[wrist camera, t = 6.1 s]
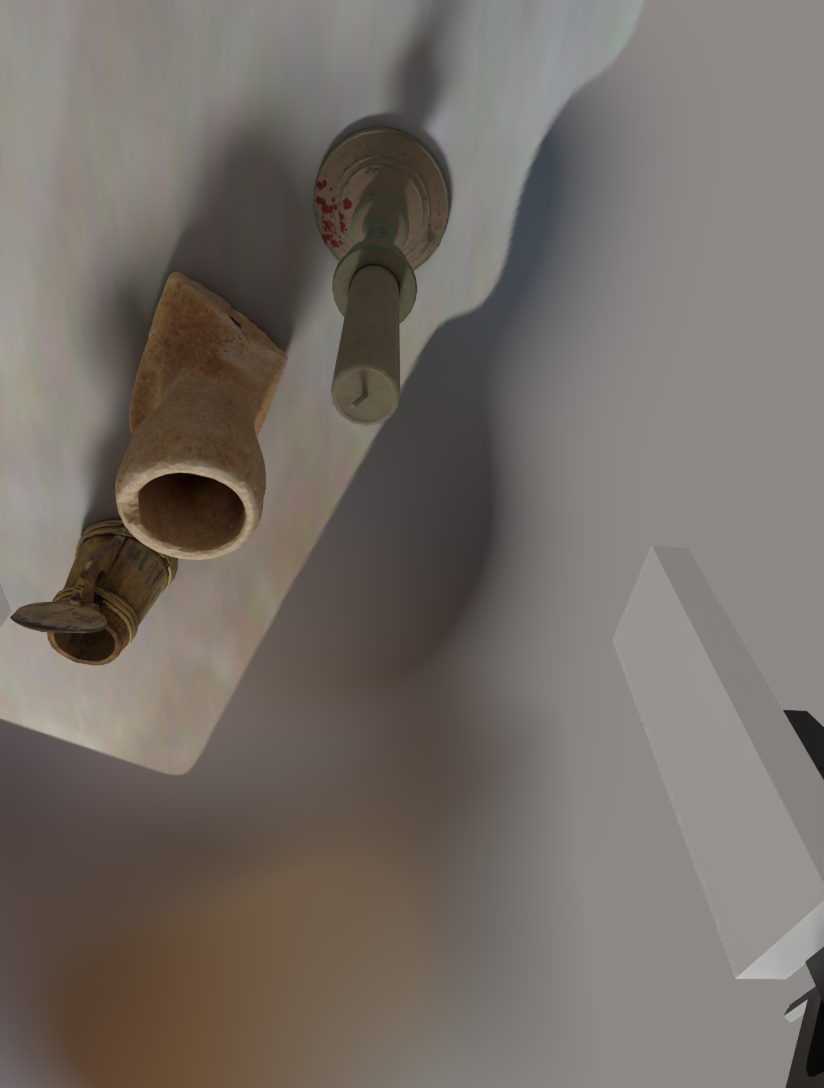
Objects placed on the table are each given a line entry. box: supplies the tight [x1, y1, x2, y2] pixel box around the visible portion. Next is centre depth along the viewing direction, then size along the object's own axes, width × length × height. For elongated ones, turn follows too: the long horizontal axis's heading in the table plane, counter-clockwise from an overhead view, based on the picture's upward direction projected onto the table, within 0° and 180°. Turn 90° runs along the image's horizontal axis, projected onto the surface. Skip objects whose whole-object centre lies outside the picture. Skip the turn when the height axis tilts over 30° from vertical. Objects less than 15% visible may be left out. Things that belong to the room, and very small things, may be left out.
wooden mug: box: [10, 520, 177, 665], centre depth 53 cm, size 9×14×18 cm, turn 164°
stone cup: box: [115, 272, 287, 560], centre depth 45 cm, size 15×12×15 cm
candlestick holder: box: [314, 127, 450, 426], centre depth 31 cm, size 9×9×30 cm
